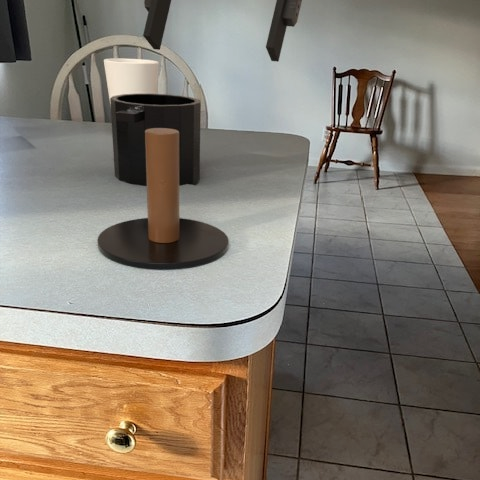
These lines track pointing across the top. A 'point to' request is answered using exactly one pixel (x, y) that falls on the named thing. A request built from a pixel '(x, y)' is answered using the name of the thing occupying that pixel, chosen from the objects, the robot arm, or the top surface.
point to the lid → (162, 218)
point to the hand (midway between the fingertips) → (209, 48)
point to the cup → (131, 76)
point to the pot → (154, 116)
